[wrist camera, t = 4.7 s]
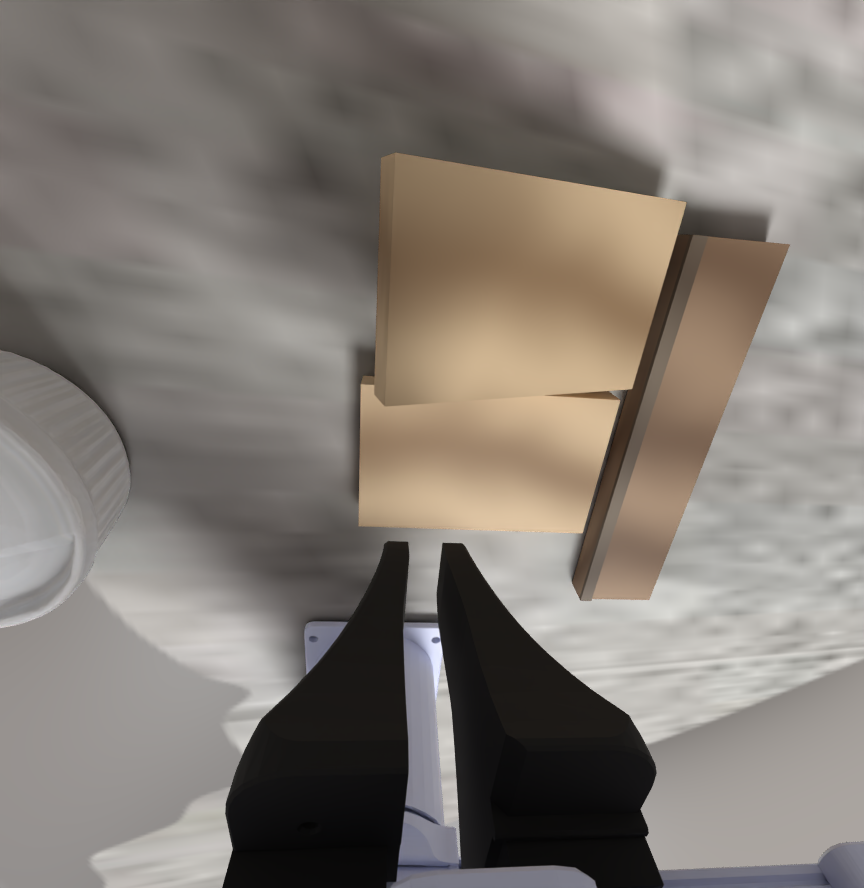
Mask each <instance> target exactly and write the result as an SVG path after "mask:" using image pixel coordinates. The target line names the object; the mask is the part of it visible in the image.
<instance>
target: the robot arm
mask: <svg viewBox="0 0 864 888" xmlns="http://www.w3.org/2000/svg"><path fill="white" fill-rule="evenodd" d="M408 566H409V546H408V542H395V541H388V542H387V543H385V544H384V549H383V553H382V556H381V559H380V562H379V565H378V567H377V570H376V572H375V574H374V576H373V579H372V581H371V583H370V585H369V587H368V589H367V591H366V593H365V595H364V596H363V598H362V600H361V602H360V603H359V605H358V607H357V609H356V610H355V612H354V614H353V615H352V617H351V618H350V620H349V621H348V622H323V621H313V622H309V623H307V624H306V626H305V630H304V640H305V658H306V676H305V677H304V678H303V679H302V680H301V681H300V682H299V683H298V685H297V686H296V687H295V688H294V689H293V690H292V691H291V692H290V693H289V694H288V695H287V696H285V697H284V698H283V699H282V700H281V701H280V702H279V703H278V704H277V705H276V706H275V707H274V708H273V709H272V710H271V711H269V712H268V713H267V714H266V715H265V716H264V717H263V718H262V719H261V721H260V722H259V724H258V726H257V728H256V730H255V731H254V733H253V735H252V737H251V739H250V741H249V743H248V745H247V747H246V749H245V751H244V753H243V755H242V758H241V760H240V762H239V765H238V767H237V770H236V772H235V776H234V779H233V782H232V785H231V788H230V792H229V795H228V798H227V801H226V812H225V814H226V819H227V823H228V828H229V833H230V838H231V842H232V847H233V851H232V854H231V858H230V862H229V865H228V869H227V873H226V876H225V880H224V884H223V887H222V888H864V842H846V843H839V844H836V845H834V846H832V847H830V848H829V849H827V850H826V851H825V852H824V853H823V854H822V855H821V857H820V858H819V860H818V863H817V864H794V865H772V866H748V867H725V868H702V869H679V870H658V868H657V866H656V863H655V861H654V858H653V856H652V853H651V851H650V848H649V846H648V843H647V841H646V839H645V836H647V835H648V833H649V832H648V827H647V824H646V822H645V820H644V817H643V815H642V812H641V810H640V809H641V807H642V805H643V803H644V801H645V799H646V798H647V796H648V794H649V792H650V790H651V788H652V786H653V783H654V780H655V776H656V766H655V763H654V761H653V759H652V756H651V755H650V752H649V750H648V748H647V746H646V744H645V742H644V740H643V738H642V737H641V735H640V733H639V731H638V730H637V728H636V726H635V725H634V723H633V722H632V720H631V718H630V716H629V715H628V714H626V713H625V712H623V711H622V710H621V709H619V708H618V707H616V706H615V705H613V704H612V703H610V702H609V701H607V700H606V699H604V698H603V697H601V696H600V695H599V694H597V693H596V692H594V691H593V690H591V689H590V688H589V687H588V686H586V685H585V684H584V683H582V682H581V681H580V680H579V679H577V678H576V677H575V676H573V675H572V674H571V673H570V672H569V671H567V670H566V669H565V668H564V667H563V666H562V665H560V664H559V663H558V662H557V661H556V660H555V659H554V658H553V657H551V656H550V655H549V654H548V653H547V652H546V651H545V650H544V649H543V648H542V647H541V646H540V645H539V644H538V643H537V642H536V641H535V640H534V639H533V638H532V637H531V636H530V635H529V634H528V633H527V632H526V631H525V630H524V629H523V628H522V627H521V625H520V624H519V623H518V622H517V621H516V620H515V618H514V617H513V616H512V615H511V614H510V612H509V611H508V610H507V609H506V607H505V606H504V605H503V604H502V602H501V601H500V600H499V598H498V597H497V596H496V594H495V593H494V591H493V590H492V589H491V587H490V586H489V584H488V583H487V581H486V580H485V579H484V577H483V575H482V574H481V572H480V571H479V569H478V568H477V566H476V564H475V563H474V561H473V559H472V558H471V556H470V554H469V552H468V551H467V549H466V547H465V546H464V545H463V544H462V543H443V544H442V552H441V561H440V569H439V578H438V586H437V612H438V623H406V622H404V617H405V604H406V592H407V579H408ZM313 636H316V637H313ZM434 637H437V638H434ZM442 654H443V658H444V664H445V670H446V676H447V682H448V688H449V694H450V701H451V709H452V720H453V733H454V747H455V762H456V777H457V794H458V812H459V829H460V849H461V857H458V847H457V837H456V828H455V827H447V826H444V812H443V798H442V785H441V771H440V757H439V743H438V729H437V715H436V698H437V690H438V683H439V676H440V668H441V661H442Z"/></svg>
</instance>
